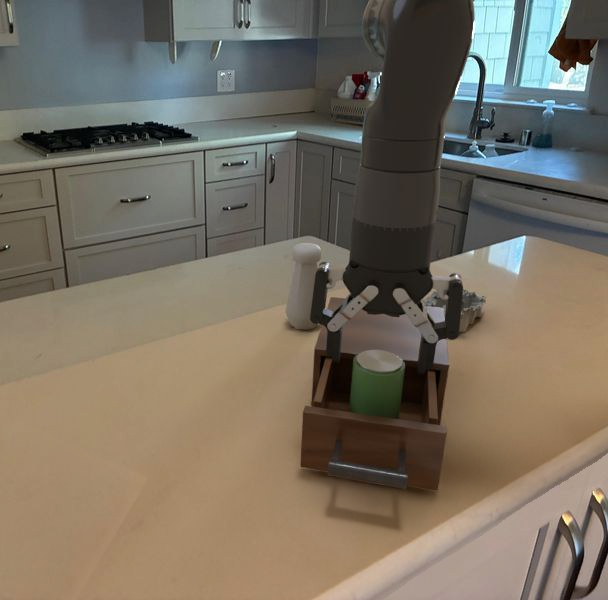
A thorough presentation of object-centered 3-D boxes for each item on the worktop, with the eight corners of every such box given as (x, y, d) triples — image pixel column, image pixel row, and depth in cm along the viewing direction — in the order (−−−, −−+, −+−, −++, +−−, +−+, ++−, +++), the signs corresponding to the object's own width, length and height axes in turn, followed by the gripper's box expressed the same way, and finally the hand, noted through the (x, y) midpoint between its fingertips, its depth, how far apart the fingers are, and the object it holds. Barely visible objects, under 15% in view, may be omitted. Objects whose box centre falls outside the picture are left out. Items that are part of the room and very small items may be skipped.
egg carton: (461, 337, 91) (465, 312, 89) (413, 322, 96) (416, 298, 94) (488, 313, 98) (492, 290, 96) (442, 301, 103) (446, 278, 101)
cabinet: (439, 430, 70) (449, 365, 67) (311, 411, 74) (314, 348, 71) (435, 365, 84) (443, 307, 80) (327, 352, 88) (330, 296, 84)
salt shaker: (296, 313, 100) (299, 236, 95) (328, 321, 97) (333, 243, 92) (278, 326, 96) (280, 247, 90) (311, 335, 93) (315, 254, 87)
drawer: (439, 526, 56) (449, 465, 53) (292, 498, 59) (294, 440, 57) (434, 410, 72) (441, 359, 70) (319, 393, 76) (322, 345, 73)
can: (397, 420, 69) (405, 351, 65) (396, 448, 64) (405, 376, 61) (350, 413, 70) (355, 345, 67) (345, 440, 66) (351, 369, 62)
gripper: (311, 219, 56) (303, 373, 63) (480, 230, 52) (452, 394, 59) (322, 199, 63) (314, 340, 69) (472, 207, 59) (449, 357, 65)
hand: (377, 365), depth 64 cm, fingers open, 8 cm apart
